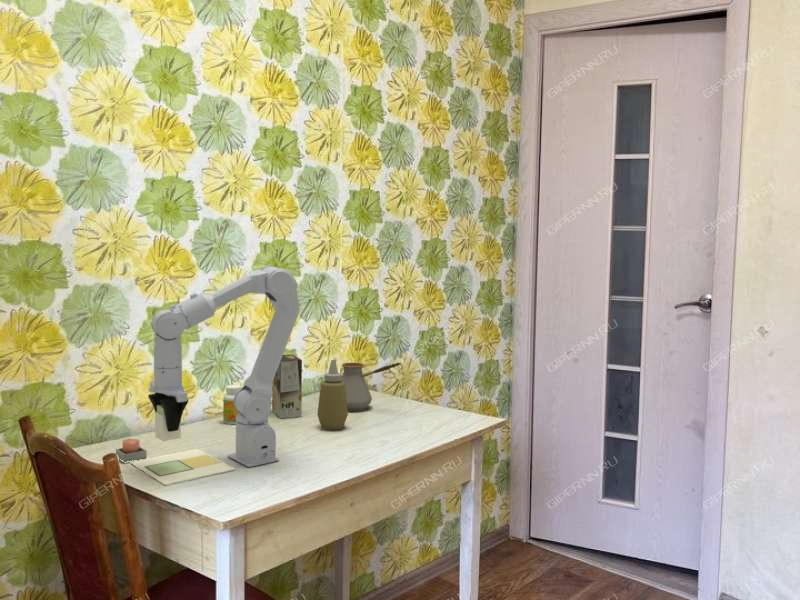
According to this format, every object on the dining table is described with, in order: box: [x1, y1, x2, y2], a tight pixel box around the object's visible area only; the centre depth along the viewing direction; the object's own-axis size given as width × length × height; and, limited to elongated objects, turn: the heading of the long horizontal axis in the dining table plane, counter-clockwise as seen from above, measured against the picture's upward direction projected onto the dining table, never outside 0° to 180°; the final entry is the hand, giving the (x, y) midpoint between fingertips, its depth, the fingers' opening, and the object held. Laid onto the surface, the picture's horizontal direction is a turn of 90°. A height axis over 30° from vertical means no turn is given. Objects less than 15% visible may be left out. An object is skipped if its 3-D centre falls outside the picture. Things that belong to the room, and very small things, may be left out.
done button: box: [122, 438, 141, 454], centre depth 171 cm, size 4×4×2 cm
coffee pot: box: [341, 362, 404, 412], centre depth 219 cm, size 21×12×15 cm, turn 65°
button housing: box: [115, 446, 147, 462], centre depth 171 cm, size 5×5×2 cm
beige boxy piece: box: [154, 405, 182, 442], centre depth 164 cm, size 4×4×7 cm
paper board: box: [131, 448, 236, 486], centre depth 167 cm, size 18×16×1 cm
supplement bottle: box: [222, 384, 242, 425], centre depth 203 cm, size 5×5×10 cm
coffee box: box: [271, 354, 303, 419], centre depth 213 cm, size 9×6×16 cm
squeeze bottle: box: [316, 359, 349, 431], centre depth 200 cm, size 8×8×18 cm
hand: (168, 428), depth 165 cm, fingers closed on beige boxy piece, 4 cm apart
